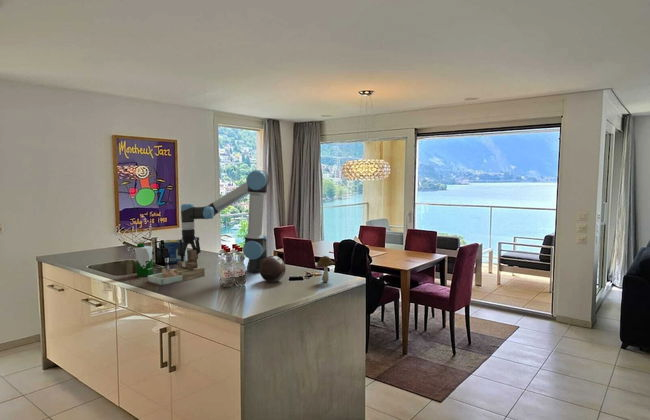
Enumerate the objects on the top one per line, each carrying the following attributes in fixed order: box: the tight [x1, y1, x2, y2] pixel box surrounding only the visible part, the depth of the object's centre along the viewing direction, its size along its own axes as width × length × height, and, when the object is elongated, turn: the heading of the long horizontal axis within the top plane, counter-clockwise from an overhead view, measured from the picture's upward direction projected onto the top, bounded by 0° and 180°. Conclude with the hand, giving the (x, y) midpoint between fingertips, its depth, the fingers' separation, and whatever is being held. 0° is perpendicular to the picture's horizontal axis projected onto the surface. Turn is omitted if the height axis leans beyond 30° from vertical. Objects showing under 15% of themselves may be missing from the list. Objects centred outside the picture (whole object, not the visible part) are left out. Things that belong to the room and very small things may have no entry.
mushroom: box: [316, 255, 335, 283], centre depth 238 cm, size 9×11×15 cm
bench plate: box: [168, 266, 206, 282], centre depth 257 cm, size 15×16×5 cm
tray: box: [147, 271, 184, 287], centre depth 246 cm, size 16×13×4 cm
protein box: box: [163, 239, 188, 264], centre depth 305 cm, size 10×15×16 cm
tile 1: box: [167, 270, 177, 278], centre depth 245 cm, size 4×4×2 cm
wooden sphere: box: [259, 255, 286, 283], centre depth 240 cm, size 15×15×15 cm
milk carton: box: [134, 243, 154, 278], centre depth 262 cm, size 9×9×20 cm
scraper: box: [176, 249, 199, 269], centre depth 258 cm, size 16×7×10 cm, turn 50°
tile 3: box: [161, 267, 168, 276], centre depth 250 cm, size 4×4×2 cm
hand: (189, 265), depth 258 cm, fingers closed on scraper, 7 cm apart
